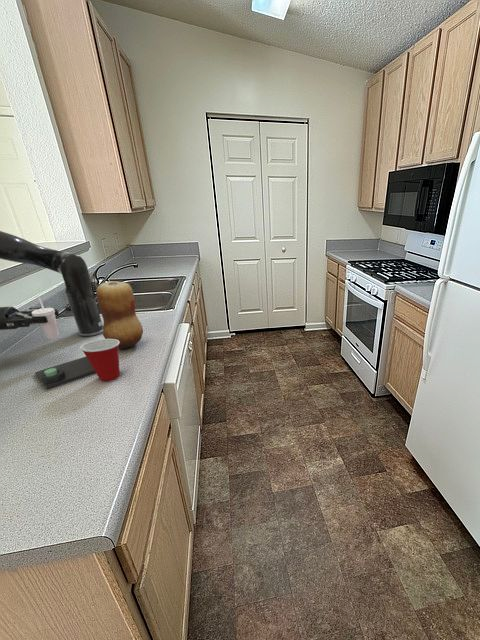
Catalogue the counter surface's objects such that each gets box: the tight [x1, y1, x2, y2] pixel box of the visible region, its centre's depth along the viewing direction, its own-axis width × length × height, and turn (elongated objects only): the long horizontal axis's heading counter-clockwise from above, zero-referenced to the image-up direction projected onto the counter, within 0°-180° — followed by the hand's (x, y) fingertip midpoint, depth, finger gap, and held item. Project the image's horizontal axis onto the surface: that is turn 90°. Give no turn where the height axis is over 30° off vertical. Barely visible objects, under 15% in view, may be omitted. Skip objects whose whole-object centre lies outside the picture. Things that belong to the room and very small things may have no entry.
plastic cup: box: [79, 338, 121, 382], centre depth 105 cm, size 11×11×12 cm
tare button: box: [44, 368, 58, 377], centre depth 104 cm, size 3×3×2 cm
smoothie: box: [32, 297, 60, 340], centre depth 112 cm, size 6×6×14 cm
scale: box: [34, 356, 96, 391], centre depth 110 cm, size 14×16×3 cm
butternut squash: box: [96, 280, 144, 350], centre depth 124 cm, size 14×13×25 cm
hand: (52, 315), depth 112 cm, fingers closed on smoothie, 6 cm apart
